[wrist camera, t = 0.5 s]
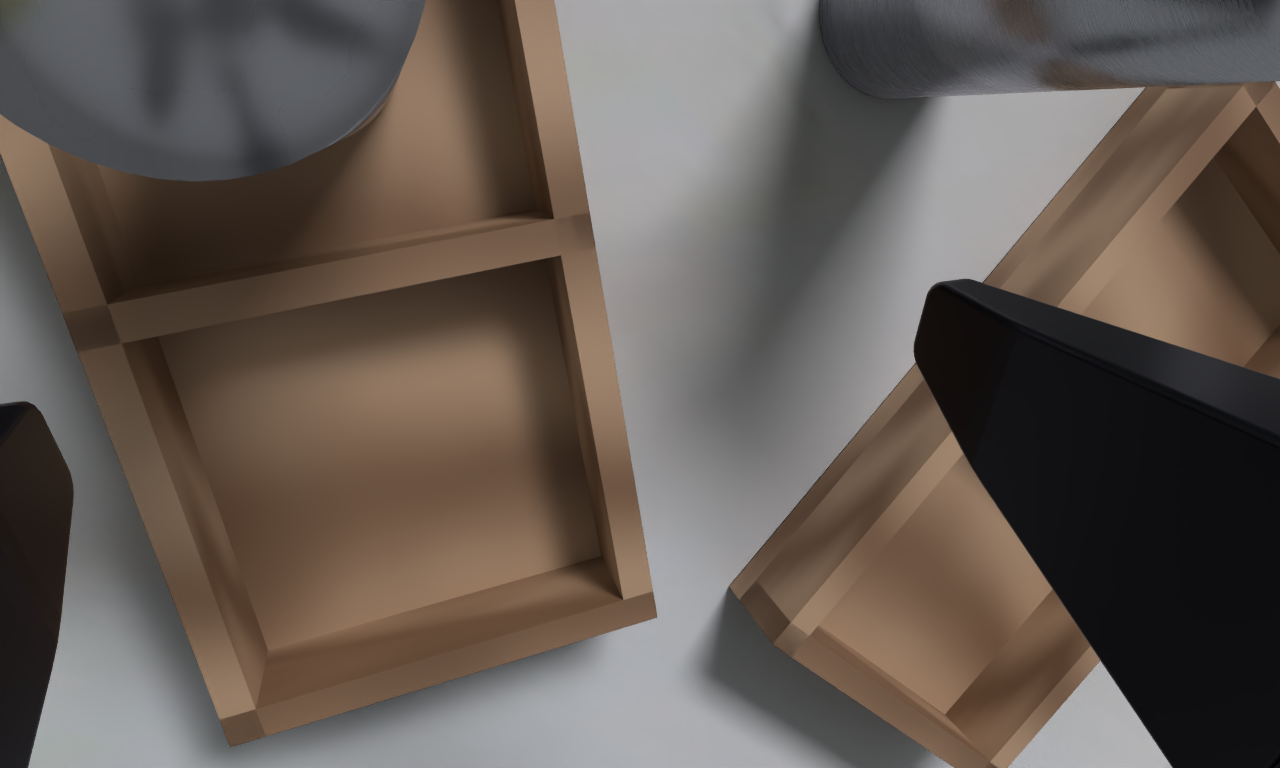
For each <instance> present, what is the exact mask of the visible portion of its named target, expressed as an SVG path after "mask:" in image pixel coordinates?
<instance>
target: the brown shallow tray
mask: <svg viewBox="0 0 1280 768" xmlns="http://www.w3.org/2000/svg"><path fill="white" fill-rule="evenodd" d="M0 154H1V156H2V159H3V161H4V164H5V167H6V169H7V172H8V174H9V177H10V180H11V182H12V185H13V187H14V190H15V192H16V195H17V198H18V200H19V203H20V205H21V208H22V211H23V213H24V216H25V218H26V221H27V223H28V226H29V229H30V231H31V234H32V236H33V239H34V242H35V244H36V247H37V249H38V252H39V254H40V257H41V260H42V262H43V265H44V267H45V270H46V273H47V275H48V278H49V280H50V283H51V285H52V288H53V291H54V293H55V296H56V298H57V301H58V304H59V306H60V309H61V311H62V314H63V317H64V319H65V322H66V324H67V327H68V329H69V332H70V335H71V337H72V340H73V342H74V345H75V348H76V350H77V353H78V355H79V358H80V360H81V363H82V366H83V368H84V371H85V373H86V376H87V379H88V381H89V384H90V386H91V389H92V391H93V394H94V397H95V399H96V402H97V404H98V407H99V410H100V412H101V415H102V417H103V420H104V422H105V425H106V428H107V430H108V433H109V435H110V438H111V441H112V443H113V446H114V448H115V451H116V454H117V456H118V459H119V461H120V464H121V466H122V469H123V472H124V474H125V477H126V479H127V482H128V485H129V487H130V490H131V492H132V495H133V497H134V500H135V503H136V505H137V508H138V510H139V513H140V516H141V518H142V521H143V523H144V526H145V528H146V531H147V534H148V536H149V539H150V541H151V544H152V547H153V549H154V552H155V554H156V557H157V559H158V562H159V565H160V567H161V570H162V572H163V575H164V578H165V580H166V583H167V585H168V588H169V591H170V593H171V596H172V598H173V601H174V603H175V606H176V609H177V611H178V614H179V616H180V619H181V622H182V624H183V627H184V629H185V632H186V634H187V637H188V640H189V642H190V645H191V647H192V650H193V653H194V655H195V658H196V660H197V663H198V665H199V668H200V671H201V673H202V676H203V678H204V681H205V684H206V686H207V689H208V691H209V694H210V696H211V699H212V702H213V704H214V707H215V709H216V712H217V715H218V717H219V720H220V722H221V725H222V728H223V730H224V733H225V735H226V738H227V740H228V743H229V746H230V747H232V746H236V745H239V744H242V743H246V742H249V741H252V740H255V739H259V738H262V737H265V736H269V735H272V734H275V733H279V732H282V731H285V730H288V729H292V728H295V727H298V726H302V725H305V724H308V723H311V722H315V721H318V720H321V719H325V718H328V717H331V716H334V715H338V714H341V713H344V712H348V711H351V710H354V709H358V708H361V707H364V706H367V705H371V704H374V703H377V702H381V701H384V700H387V699H390V698H394V697H397V696H400V695H404V694H407V693H410V692H413V691H417V690H420V689H423V688H427V687H430V686H433V685H437V684H440V683H443V682H446V681H450V680H453V679H456V678H460V677H463V676H466V675H469V674H473V673H476V672H479V671H483V670H486V669H489V668H493V667H496V666H499V665H502V664H506V663H509V662H512V661H516V660H519V659H522V658H525V657H529V656H532V655H535V654H539V653H542V652H545V651H548V650H552V649H555V648H558V647H562V646H565V645H568V644H572V643H575V642H578V641H581V640H585V639H588V638H591V637H595V636H598V635H601V634H604V633H608V632H611V631H614V630H618V629H621V628H624V627H627V626H631V625H634V624H637V623H641V622H644V621H647V620H651V619H654V618H657V612H656V606H655V600H654V595H653V589H652V583H651V577H650V571H649V565H648V559H647V553H646V547H645V541H644V535H643V529H642V523H641V517H640V511H639V505H638V499H637V493H636V487H635V481H634V475H633V469H632V463H631V457H630V451H629V445H628V439H627V433H626V427H625V421H624V415H623V409H622V403H621V397H620V391H619V385H618V379H617V373H616V367H615V361H614V355H613V349H612V343H611V337H610V331H609V325H608V319H607V313H606V307H605V301H604V295H603V289H602V283H601V277H600V271H599V265H598V259H597V253H596V248H595V242H594V236H593V230H592V224H591V218H590V212H589V206H588V200H587V194H586V188H585V182H584V176H583V170H582V164H581V158H580V152H579V146H578V140H577V134H576V128H575V122H574V116H573V110H572V104H571V98H570V92H569V86H568V80H567V74H566V68H565V62H564V56H563V50H562V44H561V38H560V32H559V26H558V20H557V14H556V8H555V2H554V0H425V6H424V9H423V13H422V16H421V20H420V23H419V27H418V30H417V34H416V36H415V39H414V41H413V44H412V46H411V49H410V51H409V53H408V56H407V58H406V61H405V63H404V65H403V68H402V70H401V73H400V75H399V77H398V80H397V82H396V85H395V87H394V89H393V91H392V94H391V96H390V98H389V99H388V101H387V103H386V104H385V106H384V107H383V109H382V110H381V111H380V112H379V114H378V115H377V116H376V117H375V118H374V119H373V120H372V121H371V122H370V123H369V124H367V125H366V126H365V127H364V128H362V129H361V130H359V131H358V132H356V133H355V134H353V135H351V136H349V137H347V138H345V139H343V140H340V141H338V142H336V143H334V144H332V145H330V146H328V147H326V148H324V149H322V150H320V151H318V152H315V153H313V154H311V155H309V156H307V157H305V158H303V159H301V160H299V161H297V162H295V163H292V164H290V165H287V166H284V167H281V168H277V169H274V170H271V171H268V172H265V173H262V174H257V175H252V176H246V177H241V178H235V179H229V180H213V181H181V180H167V179H157V178H151V177H146V176H141V175H136V174H130V173H125V172H121V171H118V170H115V169H111V168H108V167H105V166H102V165H98V164H95V163H92V162H89V161H86V160H84V159H81V158H79V157H77V156H74V155H72V154H70V153H67V152H65V151H63V150H61V149H58V148H56V147H54V146H51V145H49V144H48V143H46V142H44V141H42V140H41V139H39V138H37V137H35V136H34V135H32V134H30V133H28V132H27V131H25V130H23V129H21V128H20V127H18V126H16V125H15V124H13V123H12V122H10V121H9V120H8V119H6V118H5V117H3V116H2V115H1V114H0Z"/></svg>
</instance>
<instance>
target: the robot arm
mask: <svg viewBox="0 0 1280 768" xmlns="http://www.w3.org/2000/svg"><path fill="white" fill-rule="evenodd" d="M914 357H915V361H916V364H917V366H918V368H919V370H920V372H921V374H922V376H923V378H924V380H925V382H926V383H927V385H928V387H929V389H930V391H931V393H932V395H933V397H934V399H935V401H936V402H937V404H938V406H939V408H940V410H941V412H942V414H943V416H944V418H945V419H946V421H947V423H948V425H949V427H950V429H951V431H952V433H953V435H954V437H955V438H956V440H957V442H958V444H959V446H960V448H961V450H962V452H963V453H964V455H965V457H966V459H967V461H968V462H969V464H970V466H971V468H972V469H973V471H974V472H975V474H976V475H977V477H978V479H979V480H980V482H981V483H982V485H983V486H984V488H985V489H986V491H987V492H988V494H989V495H990V497H991V498H992V500H993V501H994V503H995V504H996V506H997V507H998V509H999V510H1000V512H1001V513H1002V515H1003V516H1004V518H1005V519H1006V521H1007V522H1008V524H1009V525H1010V527H1011V528H1012V530H1013V531H1014V533H1015V534H1016V535H1017V537H1018V538H1019V540H1020V541H1021V543H1022V544H1023V546H1024V547H1025V549H1026V550H1027V552H1028V553H1029V555H1030V556H1031V558H1032V559H1033V561H1034V562H1035V564H1036V565H1037V567H1038V568H1039V570H1040V571H1041V573H1042V574H1043V576H1044V577H1045V579H1046V580H1047V582H1048V583H1049V585H1050V586H1051V588H1052V589H1053V591H1054V592H1055V594H1056V595H1057V597H1058V598H1059V600H1060V601H1061V602H1062V604H1063V605H1064V607H1065V608H1066V610H1067V611H1068V613H1069V614H1070V616H1071V617H1072V619H1073V620H1074V622H1075V623H1076V625H1077V626H1078V628H1079V629H1080V631H1081V632H1082V634H1083V635H1084V637H1085V638H1086V640H1087V641H1088V643H1089V644H1090V646H1091V647H1092V649H1093V650H1094V652H1095V653H1096V655H1097V656H1098V658H1099V659H1100V661H1101V662H1102V664H1103V665H1104V666H1105V668H1106V669H1107V671H1108V672H1109V674H1110V675H1111V677H1112V678H1113V680H1114V681H1115V683H1116V684H1117V686H1118V687H1119V689H1120V690H1121V692H1122V693H1123V695H1124V696H1125V698H1126V699H1127V701H1128V702H1129V704H1130V705H1131V707H1132V708H1133V710H1134V711H1135V713H1136V714H1137V716H1138V717H1139V719H1140V720H1141V722H1142V723H1143V725H1144V726H1145V728H1146V729H1147V731H1148V732H1149V733H1150V735H1151V736H1152V738H1153V739H1154V741H1155V742H1156V744H1157V745H1158V747H1159V748H1160V750H1161V751H1162V753H1163V754H1164V756H1165V757H1166V759H1167V760H1168V762H1169V763H1170V765H1171V766H1172V768H1280V379H1279V378H1276V377H1273V376H1270V375H1267V374H1264V373H1260V372H1257V371H1254V370H1251V369H1248V368H1245V367H1242V366H1239V365H1236V364H1232V363H1229V362H1226V361H1223V360H1220V359H1217V358H1214V357H1211V356H1208V355H1205V354H1201V353H1198V352H1195V351H1192V350H1189V349H1186V348H1183V347H1180V346H1177V345H1173V344H1170V343H1167V342H1164V341H1161V340H1158V339H1155V338H1152V337H1149V336H1146V335H1142V334H1139V333H1136V332H1133V331H1130V330H1127V329H1124V328H1121V327H1118V326H1114V325H1111V324H1108V323H1105V322H1102V321H1099V320H1096V319H1093V318H1090V317H1087V316H1083V315H1080V314H1077V313H1074V312H1071V311H1068V310H1065V309H1062V308H1059V307H1055V306H1052V305H1049V304H1046V303H1043V302H1040V301H1037V300H1034V299H1031V298H1028V297H1024V296H1021V295H1018V294H1015V293H1012V292H1009V291H1006V290H1003V289H1000V288H996V287H993V286H990V285H987V284H984V283H981V282H978V281H975V280H971V279H959V280H951V281H944V282H939V283H936V284H935V285H933V286H932V287H931V289H930V290H929V292H928V294H927V297H926V300H925V304H924V308H923V311H922V315H921V319H920V323H919V326H918V330H917V334H916V338H915V342H914ZM73 494H74V492H73V482H72V477H71V474H70V471H69V469H68V466H67V464H66V462H65V460H64V458H63V456H62V454H61V452H60V450H59V448H58V446H57V444H56V442H55V440H54V438H53V436H52V433H51V431H50V429H49V427H48V425H47V423H46V421H45V419H44V417H43V415H42V414H41V412H40V411H39V410H38V409H37V407H36V406H35V405H33V404H31V403H29V402H24V401H22V402H13V403H5V404H0V768H28V766H29V762H30V757H31V753H32V749H33V745H34V741H35V737H36V733H37V729H38V725H39V721H40V716H41V712H42V708H43V704H44V700H45V696H46V692H47V688H48V684H49V680H50V675H51V671H52V667H53V662H54V658H55V653H56V648H57V643H58V637H59V629H60V622H61V613H62V604H63V594H64V584H65V574H66V565H67V555H68V545H69V535H70V526H71V516H72V506H73Z"/></svg>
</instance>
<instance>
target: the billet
mask: <svg viewBox="0 0 1280 768" xmlns="http://www.w3.org/2000/svg"><path fill="white" fill-rule="evenodd" d="M820 27H821V33H822V38H823V42H824V45H825V48H826V51H827V53H828V56H829V58H830V60H831V62H832V63H833V65H834V67H835V68H836V70H837V71H838V72H839V74H840V75H841V76H842V77H843V78H844V79H845V80H846V81H847V82H848V83H849V84H850V85H851V86H853V87H854V88H856V89H857V90H859V91H861V92H863V93H865V94H867V95H870V96H873V97H877V98H885V99H893V98H916V97H938V96H960V95H982V94H1005V93H1027V92H1049V91H1071V90H1093V89H1115V88H1137V87H1159V86H1181V85H1204V84H1226V83H1248V82H1270V81H1280V0H820Z"/></svg>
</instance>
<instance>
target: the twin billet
mask: <svg viewBox="0 0 1280 768" xmlns="http://www.w3.org/2000/svg"><path fill="white" fill-rule="evenodd" d="M424 6H425V0H0V114H1V115H2V116H3V117H5V118H6V119H8V120H9V121H10V122H12V123H13V124H15V125H16V126H18V127H20V128H21V129H23V130H25V131H27V132H28V133H30V134H32V135H34V136H35V137H37V138H39V139H41V140H42V141H44V142H46V143H48V144H49V145H51V146H54V147H56V148H58V149H61V150H63V151H65V152H67V153H70V154H72V155H74V156H77V157H79V158H81V159H84V160H86V161H89V162H92V163H95V164H98V165H102V166H105V167H108V168H111V169H115V170H118V171H121V172H125V173H130V174H136V175H141V176H146V177H151V178H157V179H167V180H181V181H213V180H229V179H235V178H241V177H246V176H252V175H257V174H262V173H265V172H268V171H271V170H274V169H277V168H281V167H284V166H287V165H290V164H292V163H295V162H297V161H299V160H301V159H303V158H305V157H307V156H309V155H311V154H313V153H315V152H318V151H320V150H322V149H324V148H326V147H328V146H330V145H332V144H334V143H336V142H338V141H340V140H343V139H345V138H347V137H349V136H351V135H353V134H355V133H356V132H358V131H359V130H361V129H362V128H364V127H365V126H366V125H367V124H369V123H370V122H371V121H372V120H373V119H374V118H375V117H376V116H377V115H378V114H379V112H380V111H381V110H382V109H383V107H384V106H385V104H386V103H387V101H388V99H389V98H390V96H391V94H392V91H393V89H394V87H395V85H396V82H397V80H398V77H399V75H400V73H401V70H402V68H403V65H404V63H405V61H406V58H407V56H408V53H409V51H410V49H411V46H412V44H413V41H414V39H415V36H416V34H417V30H418V27H419V23H420V20H421V16H422V13H423V9H424Z"/></svg>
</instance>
